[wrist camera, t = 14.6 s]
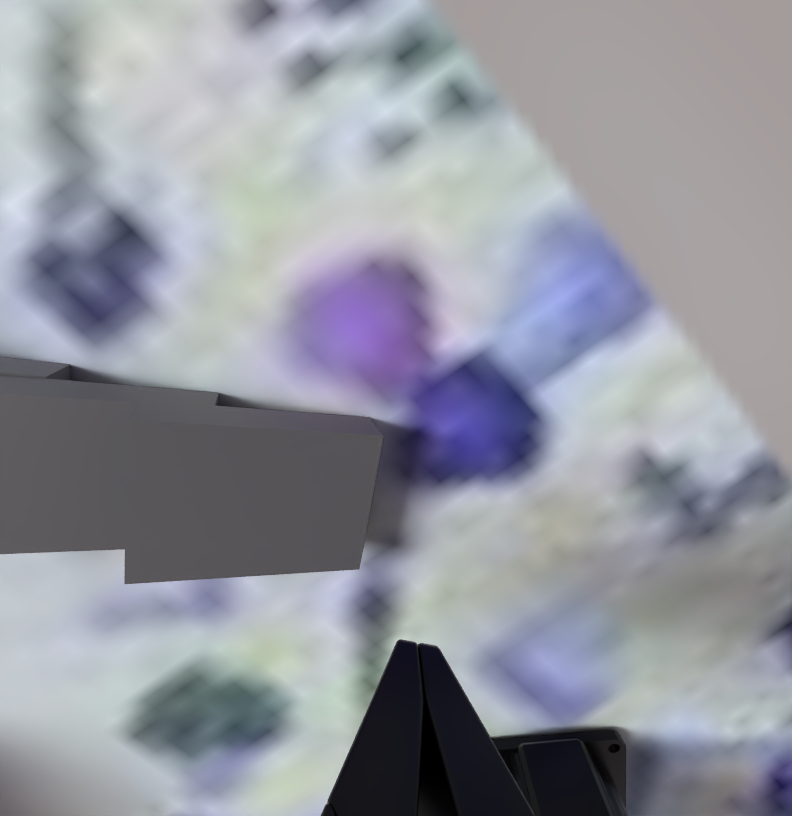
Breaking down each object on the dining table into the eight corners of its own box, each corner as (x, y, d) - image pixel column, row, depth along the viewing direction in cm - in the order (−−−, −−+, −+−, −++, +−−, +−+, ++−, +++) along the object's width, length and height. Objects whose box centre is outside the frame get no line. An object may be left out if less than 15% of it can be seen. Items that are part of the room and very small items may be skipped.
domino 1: (214, 408, 13) (-90, 386, 10) (205, 545, 14) (-67, 556, 11) (218, 393, 14) (-43, 371, 12) (210, 517, 16) (-27, 521, 13)
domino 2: (384, 435, 13) (126, 419, 10) (359, 569, 14) (124, 584, 12) (369, 417, 14) (143, 400, 12) (348, 538, 16) (140, 546, 13)
